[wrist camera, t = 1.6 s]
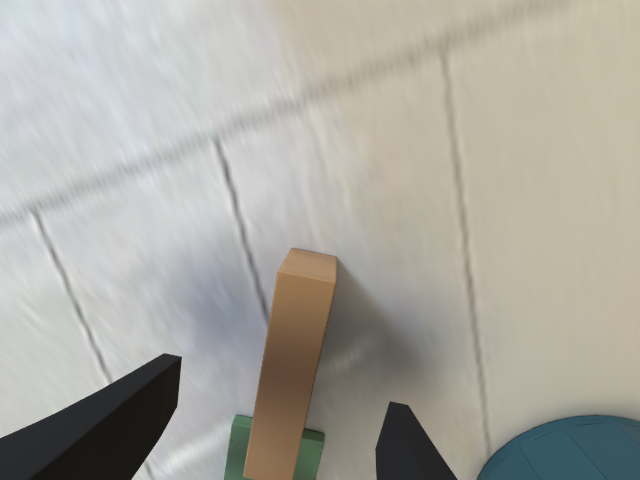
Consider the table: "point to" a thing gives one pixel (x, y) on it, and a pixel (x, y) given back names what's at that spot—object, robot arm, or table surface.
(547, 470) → the pot
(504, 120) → the table surface
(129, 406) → the robot arm
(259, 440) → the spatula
